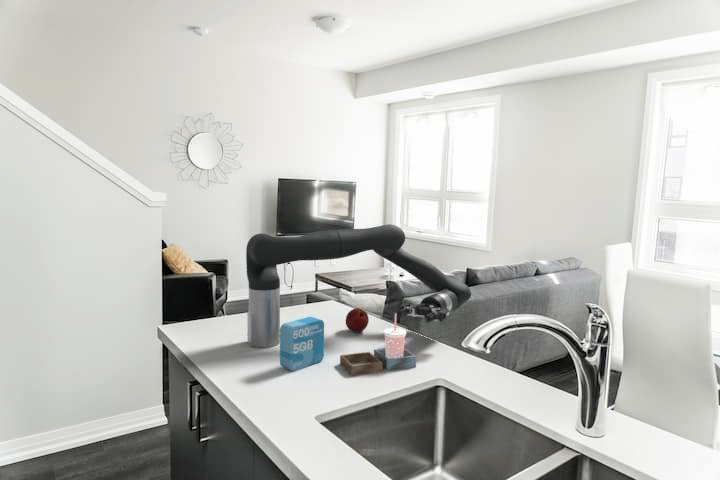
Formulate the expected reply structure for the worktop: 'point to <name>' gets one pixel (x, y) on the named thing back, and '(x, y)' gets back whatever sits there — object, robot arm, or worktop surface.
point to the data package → (301, 343)
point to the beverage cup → (394, 341)
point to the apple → (357, 320)
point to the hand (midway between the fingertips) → (413, 316)
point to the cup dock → (376, 362)
